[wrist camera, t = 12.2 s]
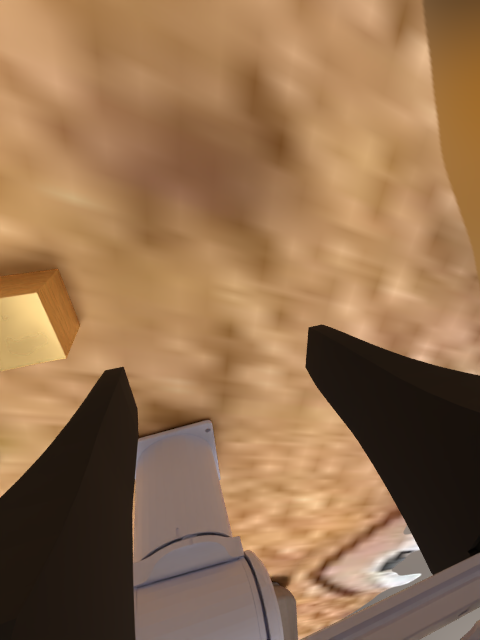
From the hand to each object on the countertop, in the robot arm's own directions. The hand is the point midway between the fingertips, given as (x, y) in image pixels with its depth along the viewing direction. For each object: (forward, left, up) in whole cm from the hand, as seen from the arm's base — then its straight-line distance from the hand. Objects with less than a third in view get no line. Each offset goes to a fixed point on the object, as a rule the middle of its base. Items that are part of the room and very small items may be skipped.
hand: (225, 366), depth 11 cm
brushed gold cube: (0, +10, -10) cm, 15 cm away
